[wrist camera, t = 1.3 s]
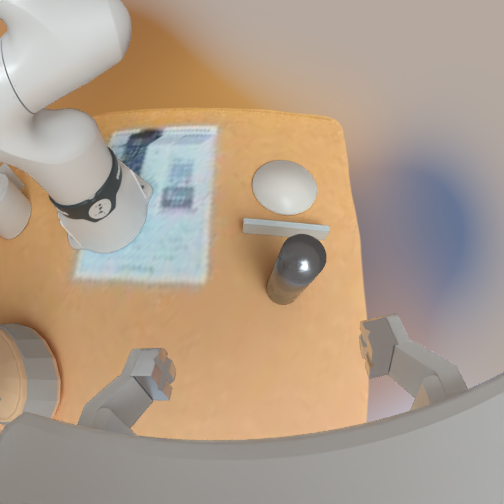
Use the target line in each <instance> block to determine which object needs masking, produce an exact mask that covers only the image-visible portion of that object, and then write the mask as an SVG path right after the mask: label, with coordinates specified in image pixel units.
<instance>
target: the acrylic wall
mask: <svg viewBox="0 0 504 504" xmlns="http://www.w3.org/2000/svg"><path fill="white" fill-rule="evenodd" d="M329 232H330V226H325V225H315V224H305V223H295V222H284V221H273V220H262V219H250V218H244V223H243V233H249V234H261V235H272V236H284V237H291V236H293V235H296V234H307V235H310V236H313V237H314V238H316V239H317V240H324V239H325V238H326V236H327V235H328V234H329Z"/></svg>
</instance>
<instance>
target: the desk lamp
mask: <svg viewBox="0 0 504 504" xmlns="http://www.w3.org/2000/svg"><path fill="white" fill-rule="evenodd" d="M60 385H61V379H60V375H59V371H58V367H57V363H56V358H55V357H54V355H53V353H52V351H51V349H50V348H49V346H48V344H47V342H46V340H45V339H44V338H42V337H41V336H40V335H39V334H38V333H37V332H36V331H35V330H34V329H32V328H30V327H27V326H24V325H20V324H17V323H12V324H0V423H1V424H3V425H7V424H9V423H10V422H11V421H13V420H14V419H15V418H17V417H18V416H19V415H21V414H23V413H24V412H31V413H34V414H38V415H41V416H44V417H48V418H51V419H52V418H53V417H54V415H55V412H56V410H57V407H58V405H59V402H60Z"/></svg>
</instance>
